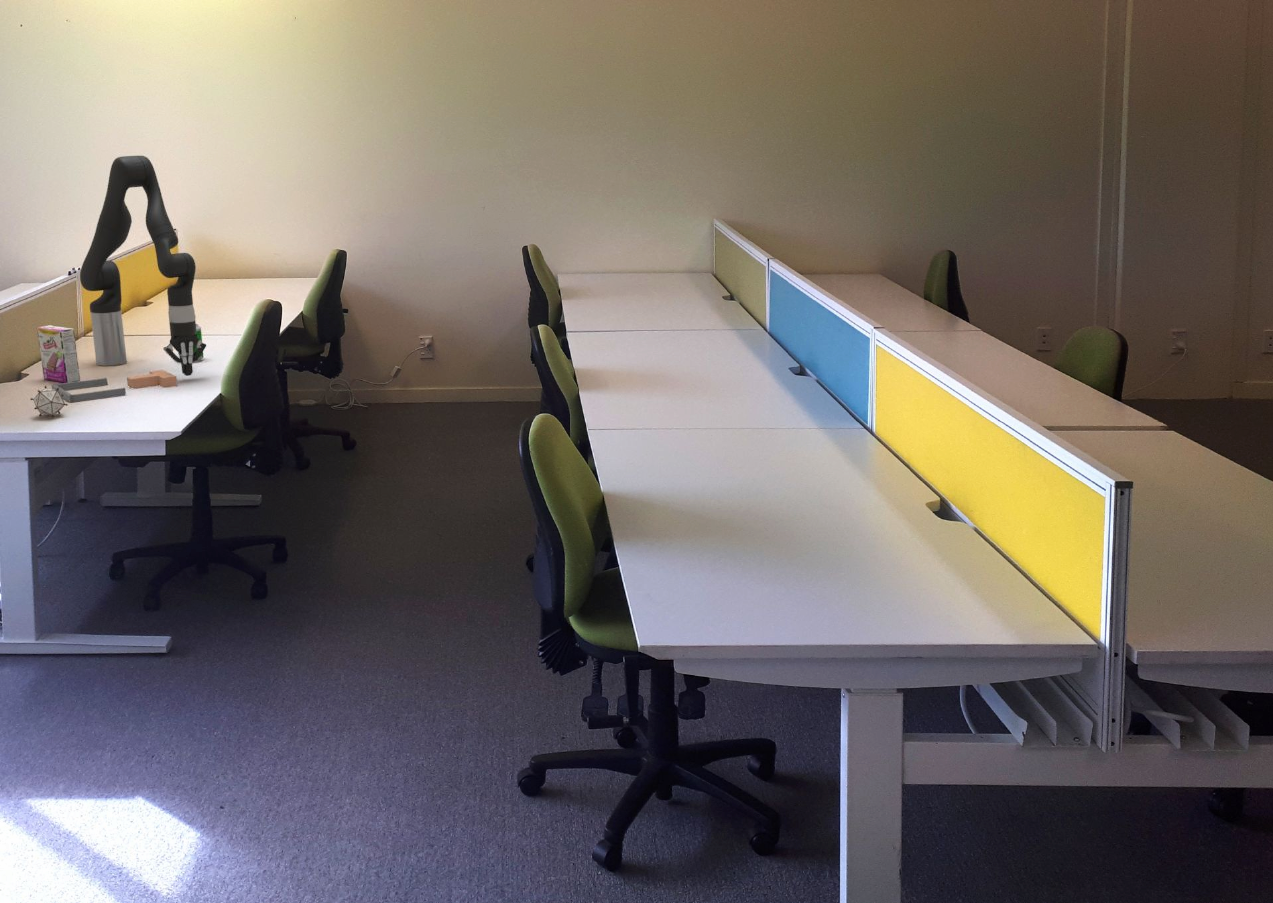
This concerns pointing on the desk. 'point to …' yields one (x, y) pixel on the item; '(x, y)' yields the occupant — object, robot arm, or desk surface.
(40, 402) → the game die
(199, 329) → the soda can
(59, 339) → the candy bar box
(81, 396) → the charcoal bay
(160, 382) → the T block
